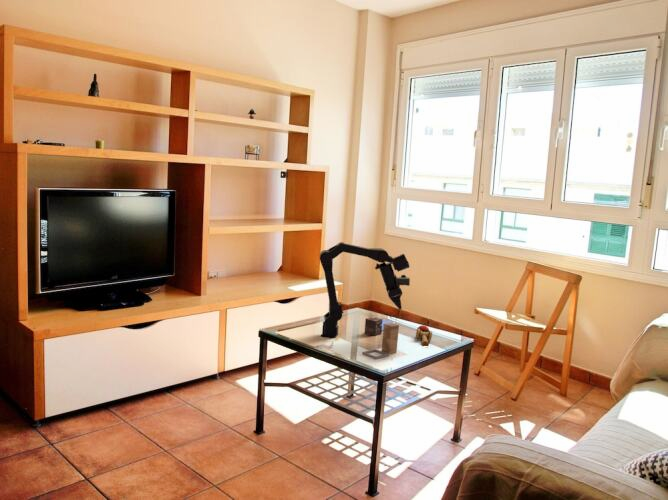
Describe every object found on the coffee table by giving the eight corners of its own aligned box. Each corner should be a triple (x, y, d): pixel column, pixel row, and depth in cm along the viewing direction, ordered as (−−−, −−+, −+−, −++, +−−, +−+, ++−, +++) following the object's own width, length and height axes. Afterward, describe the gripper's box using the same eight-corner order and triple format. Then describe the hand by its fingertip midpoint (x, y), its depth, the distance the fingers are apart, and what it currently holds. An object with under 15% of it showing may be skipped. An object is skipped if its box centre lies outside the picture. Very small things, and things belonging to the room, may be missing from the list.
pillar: (381, 351, 241) (383, 323, 240) (388, 349, 244) (391, 322, 243) (389, 354, 238) (391, 326, 236) (396, 352, 241) (398, 325, 239)
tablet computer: (370, 321, 297) (370, 318, 296) (394, 323, 295) (395, 321, 294) (365, 330, 278) (366, 328, 278) (391, 333, 276) (392, 331, 276)
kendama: (435, 350, 256) (431, 334, 273) (434, 337, 254) (430, 322, 272) (417, 352, 257) (415, 335, 274) (416, 339, 255) (414, 323, 273)
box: (374, 336, 267) (375, 321, 266) (364, 333, 270) (365, 318, 269) (381, 334, 272) (382, 319, 271) (371, 331, 275) (372, 316, 274)
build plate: (355, 355, 237) (356, 351, 236) (387, 348, 249) (387, 344, 249) (376, 364, 228) (377, 359, 228) (408, 356, 240) (408, 351, 240)
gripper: (407, 272, 251) (418, 305, 252) (403, 266, 269) (414, 297, 271) (383, 280, 252) (394, 313, 253) (381, 274, 270) (392, 305, 271)
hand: (399, 307), depth 262 cm, fingers open, 9 cm apart
